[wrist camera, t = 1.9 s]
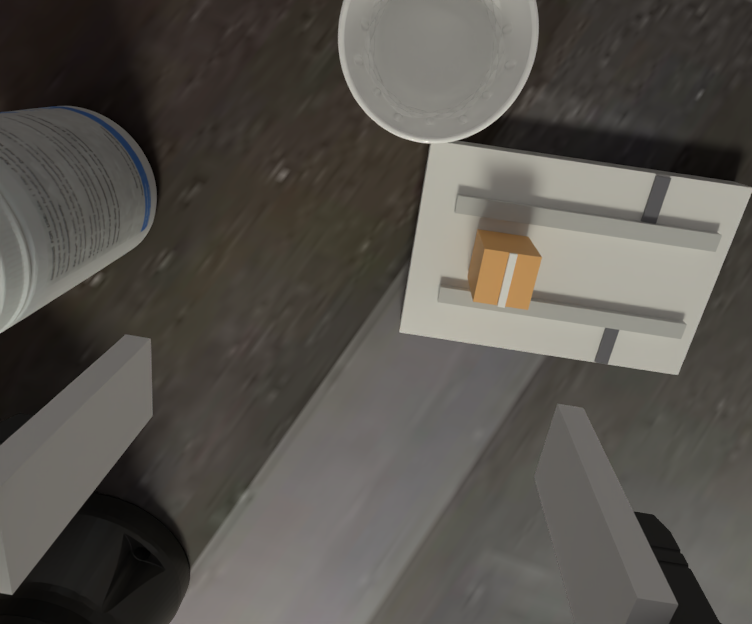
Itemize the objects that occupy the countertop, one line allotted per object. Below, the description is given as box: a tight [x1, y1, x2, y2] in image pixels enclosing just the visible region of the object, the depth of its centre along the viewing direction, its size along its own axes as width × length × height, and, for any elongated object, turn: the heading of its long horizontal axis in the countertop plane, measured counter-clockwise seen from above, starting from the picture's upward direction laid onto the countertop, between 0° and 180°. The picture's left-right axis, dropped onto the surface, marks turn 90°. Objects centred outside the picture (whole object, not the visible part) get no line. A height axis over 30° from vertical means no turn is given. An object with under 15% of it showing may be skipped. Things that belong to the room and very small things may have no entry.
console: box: [399, 141, 752, 375], centre depth 34 cm, size 18×12×3 cm, turn 82°
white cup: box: [338, 0, 539, 144], centre depth 27 cm, size 8×8×10 cm
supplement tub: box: [0, 106, 157, 333], centre depth 29 cm, size 10×10×15 cm
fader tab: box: [467, 229, 542, 310], centre depth 31 cm, size 3×3×4 cm
